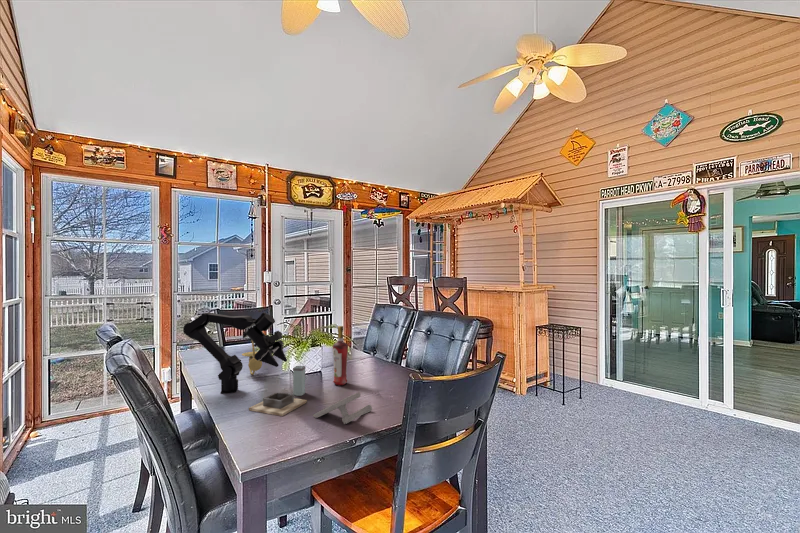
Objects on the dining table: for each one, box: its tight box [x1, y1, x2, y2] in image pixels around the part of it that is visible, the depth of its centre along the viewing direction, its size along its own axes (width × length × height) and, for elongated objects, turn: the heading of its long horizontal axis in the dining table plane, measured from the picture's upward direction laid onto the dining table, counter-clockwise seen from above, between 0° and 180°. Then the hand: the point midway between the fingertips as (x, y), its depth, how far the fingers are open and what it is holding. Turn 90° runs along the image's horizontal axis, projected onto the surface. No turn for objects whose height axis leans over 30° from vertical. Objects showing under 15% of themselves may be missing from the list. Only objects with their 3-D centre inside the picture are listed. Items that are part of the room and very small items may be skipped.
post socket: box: [248, 391, 308, 417], centre depth 158 cm, size 16×16×4 cm
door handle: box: [312, 391, 373, 425], centre depth 148 cm, size 18×8×20 cm
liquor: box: [332, 325, 349, 386], centre depth 188 cm, size 7×7×28 cm
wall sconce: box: [241, 339, 263, 376], centre depth 203 cm, size 14×10×25 cm
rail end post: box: [292, 365, 306, 397], centre depth 173 cm, size 4×4×12 cm
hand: (282, 363), depth 174 cm, fingers open, 9 cm apart
